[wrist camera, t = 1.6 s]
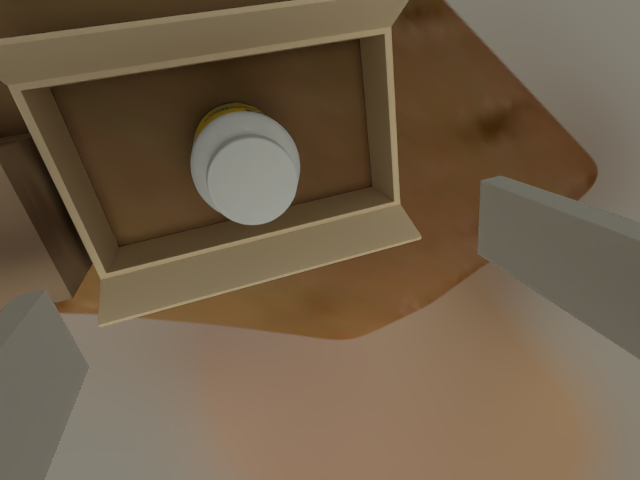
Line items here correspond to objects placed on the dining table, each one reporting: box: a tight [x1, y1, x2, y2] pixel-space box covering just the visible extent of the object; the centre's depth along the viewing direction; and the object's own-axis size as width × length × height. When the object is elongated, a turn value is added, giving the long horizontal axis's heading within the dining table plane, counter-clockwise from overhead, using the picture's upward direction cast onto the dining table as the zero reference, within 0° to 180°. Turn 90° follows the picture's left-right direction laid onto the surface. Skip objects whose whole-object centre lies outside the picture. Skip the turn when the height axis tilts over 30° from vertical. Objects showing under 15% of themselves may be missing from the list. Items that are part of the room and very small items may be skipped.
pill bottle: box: [190, 103, 300, 225], centre depth 24 cm, size 6×6×12 cm
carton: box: [0, 0, 421, 327], centre depth 26 cm, size 16×23×8 cm
